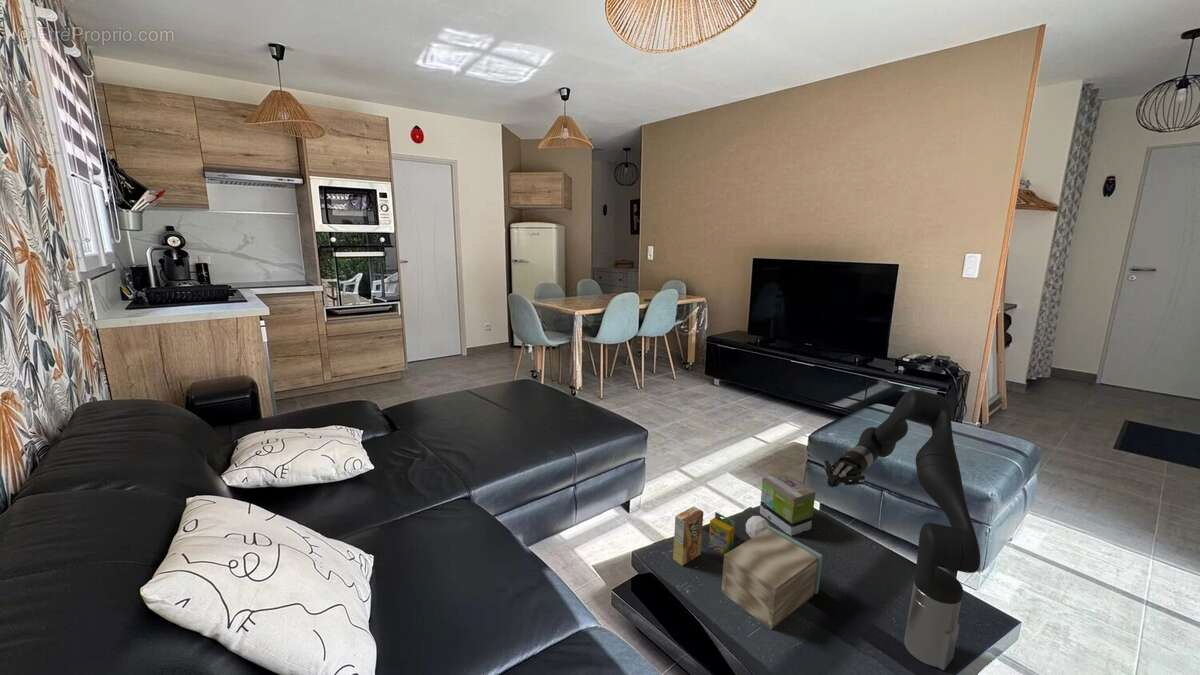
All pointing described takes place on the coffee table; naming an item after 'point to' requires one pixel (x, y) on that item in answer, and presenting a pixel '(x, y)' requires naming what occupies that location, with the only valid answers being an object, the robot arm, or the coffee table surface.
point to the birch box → (769, 577)
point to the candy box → (688, 535)
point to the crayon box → (721, 534)
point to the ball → (756, 525)
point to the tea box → (787, 503)
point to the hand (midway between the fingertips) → (830, 484)
